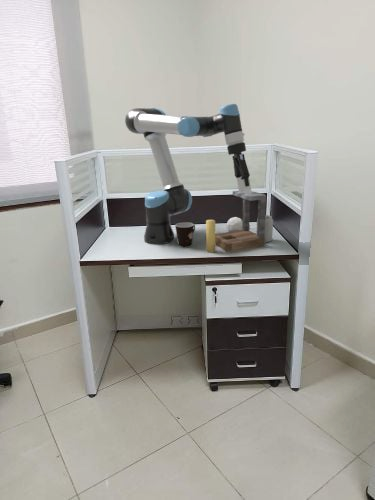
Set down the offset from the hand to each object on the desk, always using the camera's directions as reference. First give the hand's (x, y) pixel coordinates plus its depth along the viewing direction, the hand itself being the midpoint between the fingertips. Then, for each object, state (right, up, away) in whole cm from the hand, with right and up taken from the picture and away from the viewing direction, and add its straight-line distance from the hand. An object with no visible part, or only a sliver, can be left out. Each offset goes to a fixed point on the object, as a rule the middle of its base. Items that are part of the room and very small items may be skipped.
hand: (245, 193), depth 151 cm
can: (+12, -20, +16) cm, 28 cm away
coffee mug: (-25, -22, +14) cm, 36 cm away
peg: (-15, -25, +5) cm, 29 cm away
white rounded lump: (+1, -17, +27) cm, 32 cm away
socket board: (-2, -22, +12) cm, 25 cm away
